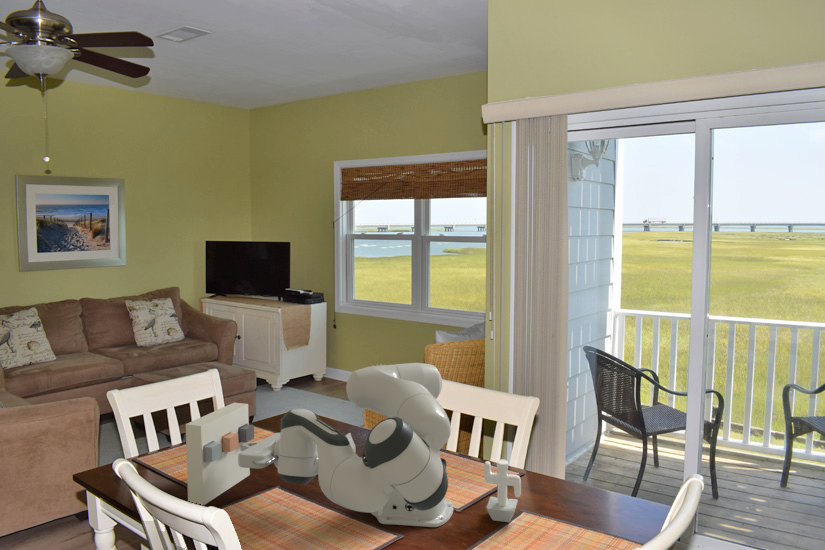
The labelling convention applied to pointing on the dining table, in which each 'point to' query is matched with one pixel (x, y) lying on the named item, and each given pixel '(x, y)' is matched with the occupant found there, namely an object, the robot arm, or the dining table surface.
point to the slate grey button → (212, 451)
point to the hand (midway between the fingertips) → (243, 446)
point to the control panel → (224, 471)
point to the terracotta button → (229, 442)
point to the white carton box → (351, 441)
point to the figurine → (502, 491)
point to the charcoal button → (246, 433)
